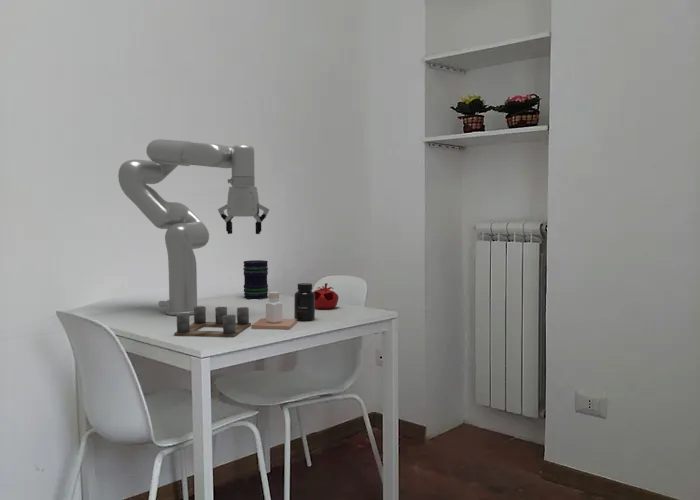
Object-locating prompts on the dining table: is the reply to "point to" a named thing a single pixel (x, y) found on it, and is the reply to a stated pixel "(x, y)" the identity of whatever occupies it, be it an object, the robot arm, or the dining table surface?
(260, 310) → the dining table surface
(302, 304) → the supplement bottle
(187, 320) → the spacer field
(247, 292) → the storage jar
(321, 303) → the pomegranate
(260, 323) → the terracotta tile
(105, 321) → the dining table surface
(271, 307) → the pepper shaker
